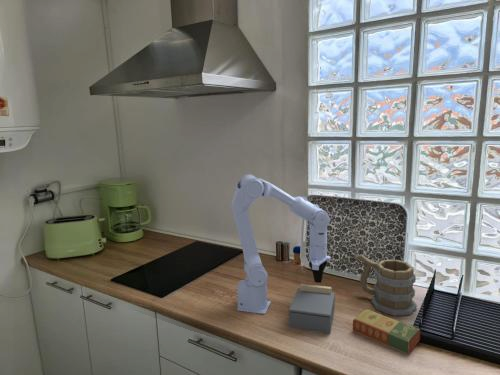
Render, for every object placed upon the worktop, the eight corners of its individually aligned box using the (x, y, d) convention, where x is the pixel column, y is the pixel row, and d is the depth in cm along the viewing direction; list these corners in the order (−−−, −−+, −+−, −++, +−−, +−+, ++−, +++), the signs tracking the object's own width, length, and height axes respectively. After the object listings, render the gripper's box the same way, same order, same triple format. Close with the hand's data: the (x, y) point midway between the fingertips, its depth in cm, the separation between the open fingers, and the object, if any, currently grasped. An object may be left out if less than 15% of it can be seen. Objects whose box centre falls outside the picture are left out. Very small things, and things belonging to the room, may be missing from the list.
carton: (365, 320, 109) (366, 307, 108) (420, 341, 98) (421, 327, 97) (352, 332, 103) (352, 318, 103) (408, 356, 92) (409, 341, 91)
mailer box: (289, 327, 106) (289, 312, 105) (297, 304, 119) (297, 290, 118) (330, 333, 102) (330, 317, 101) (334, 309, 115) (334, 295, 114)
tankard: (420, 304, 117) (423, 261, 114) (405, 320, 108) (407, 274, 105) (363, 286, 130) (364, 247, 128) (346, 299, 122) (346, 257, 119)
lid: (289, 311, 105) (289, 303, 105) (297, 289, 118) (297, 283, 118) (330, 316, 101) (330, 309, 101) (334, 294, 114) (334, 287, 114)
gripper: (328, 252, 111) (327, 292, 113) (332, 237, 124) (332, 274, 127) (305, 250, 113) (305, 290, 115) (312, 236, 126) (312, 272, 129)
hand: (318, 281), depth 121 cm, fingers closed
